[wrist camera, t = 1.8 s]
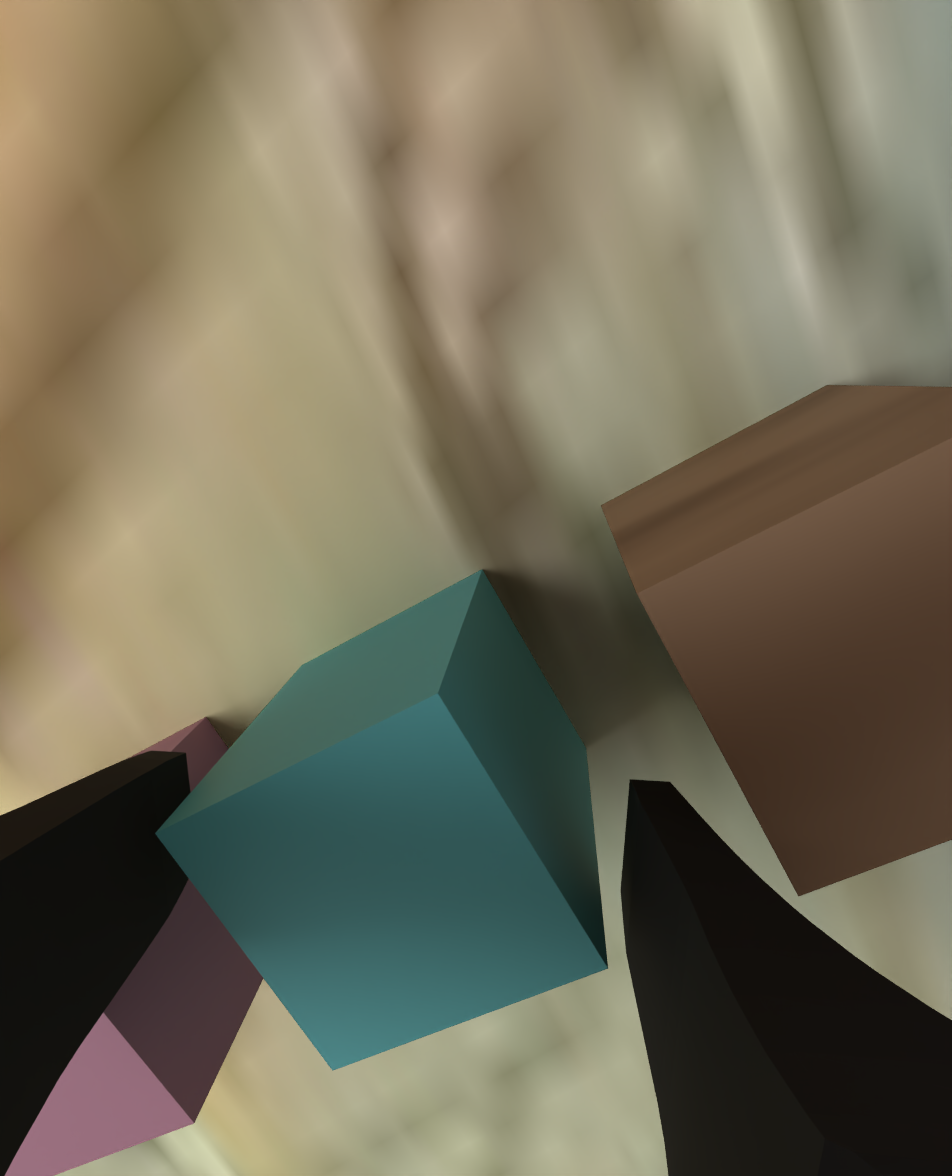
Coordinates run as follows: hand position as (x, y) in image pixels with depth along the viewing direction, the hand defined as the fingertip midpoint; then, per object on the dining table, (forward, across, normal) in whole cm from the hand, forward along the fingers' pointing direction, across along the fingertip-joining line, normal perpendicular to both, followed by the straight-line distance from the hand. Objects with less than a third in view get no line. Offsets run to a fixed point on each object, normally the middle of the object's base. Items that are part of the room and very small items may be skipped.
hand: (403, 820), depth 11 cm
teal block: (+4, 0, 0) cm, 4 cm away
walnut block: (+4, -6, -4) cm, 8 cm away
